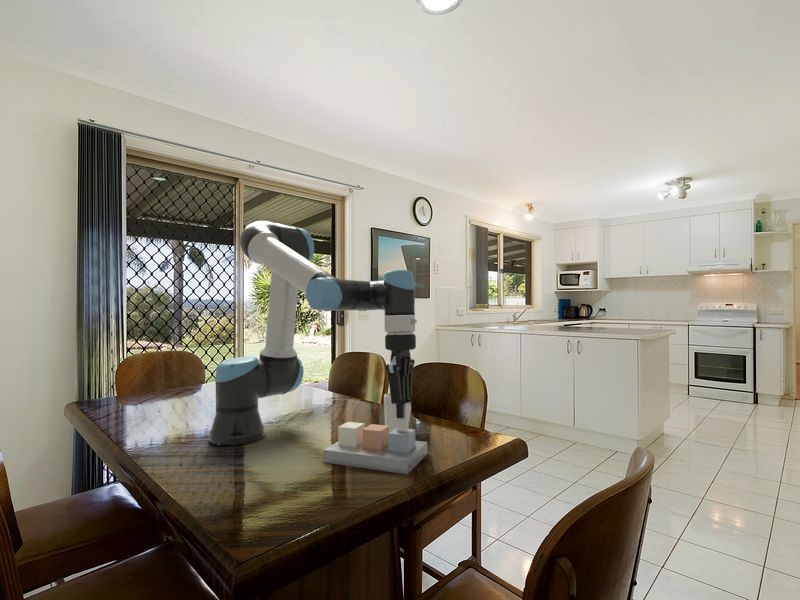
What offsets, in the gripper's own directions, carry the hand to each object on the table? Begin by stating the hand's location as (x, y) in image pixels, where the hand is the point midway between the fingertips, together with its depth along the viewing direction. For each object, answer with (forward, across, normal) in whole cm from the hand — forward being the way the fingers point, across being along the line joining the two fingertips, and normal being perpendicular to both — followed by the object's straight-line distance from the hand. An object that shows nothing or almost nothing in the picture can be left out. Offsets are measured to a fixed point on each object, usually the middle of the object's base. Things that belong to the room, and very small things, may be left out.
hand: (402, 430), depth 99 cm
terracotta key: (+5, 0, +7) cm, 9 cm away
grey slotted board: (+7, 0, +7) cm, 10 cm away
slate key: (+5, 0, 0) cm, 5 cm away
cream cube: (+5, 0, +14) cm, 15 cm away
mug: (+8, +20, +9) cm, 23 cm away
